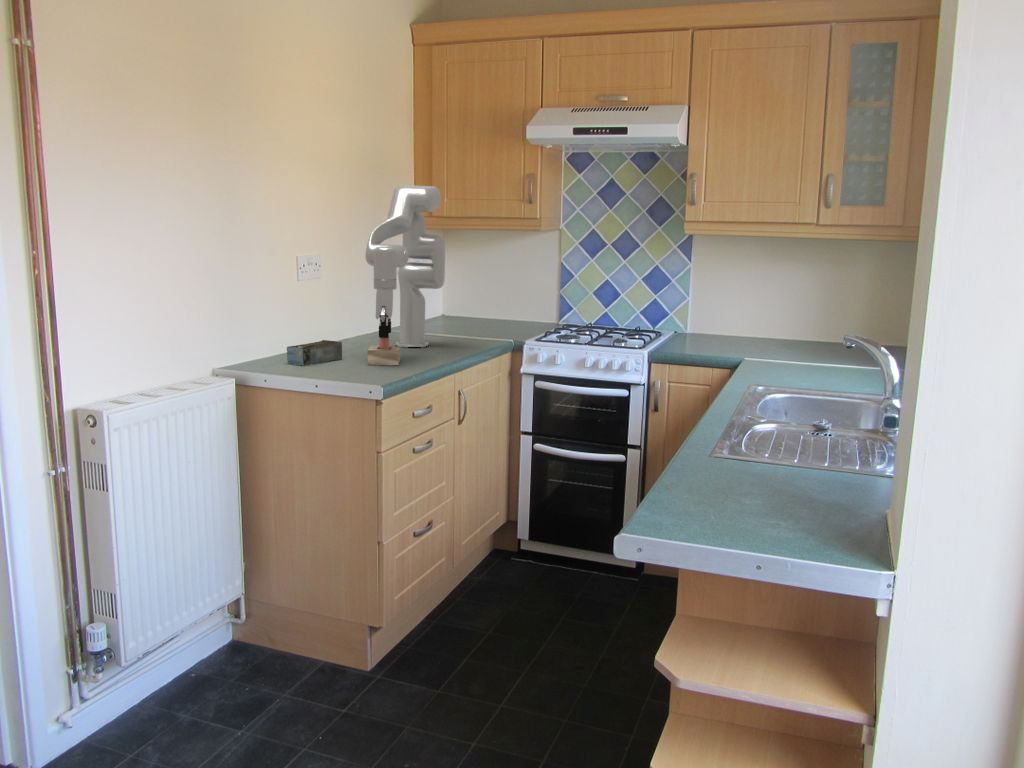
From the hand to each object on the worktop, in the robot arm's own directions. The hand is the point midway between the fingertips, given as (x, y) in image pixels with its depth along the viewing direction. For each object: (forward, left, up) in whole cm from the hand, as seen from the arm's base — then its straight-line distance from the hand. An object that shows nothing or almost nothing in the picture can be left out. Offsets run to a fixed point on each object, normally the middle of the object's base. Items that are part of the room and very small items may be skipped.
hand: (385, 335), depth 289 cm
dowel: (+1, 0, -9) cm, 9 cm away
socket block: (+1, 0, -9) cm, 9 cm away
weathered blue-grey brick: (+1, -23, -10) cm, 25 cm away
